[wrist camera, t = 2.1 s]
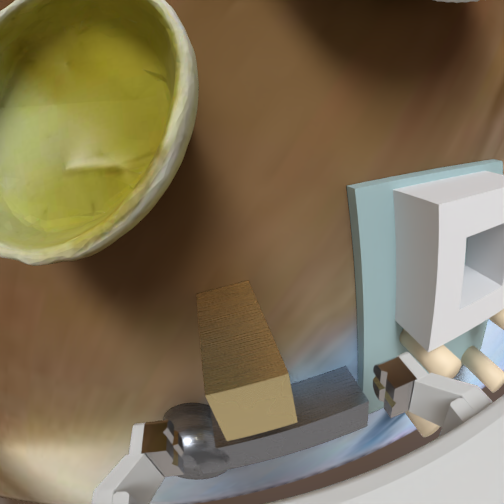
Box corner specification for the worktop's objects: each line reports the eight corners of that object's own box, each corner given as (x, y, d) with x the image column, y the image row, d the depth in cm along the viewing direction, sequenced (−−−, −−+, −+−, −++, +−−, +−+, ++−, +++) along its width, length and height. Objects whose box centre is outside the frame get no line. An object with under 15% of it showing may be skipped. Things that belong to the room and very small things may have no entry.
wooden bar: (210, 336, 19) (226, 441, 11) (196, 293, 18) (205, 395, 10) (258, 323, 19) (297, 422, 12) (248, 280, 18) (288, 373, 11)
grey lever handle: (175, 443, 22) (177, 482, 18) (153, 409, 20) (151, 451, 16) (346, 397, 23) (366, 431, 19) (345, 357, 22) (369, 393, 18)
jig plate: (356, 409, 24) (387, 459, 18) (346, 185, 17) (411, 209, 12) (472, 350, 25) (508, 382, 20) (493, 159, 18) (552, 173, 13)
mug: (174, 285, 15) (53, 347, 5) (30, 206, 15) (-106, 186, 5) (278, 71, 15) (296, -81, 5) (124, 29, 15) (55, -77, 5)
